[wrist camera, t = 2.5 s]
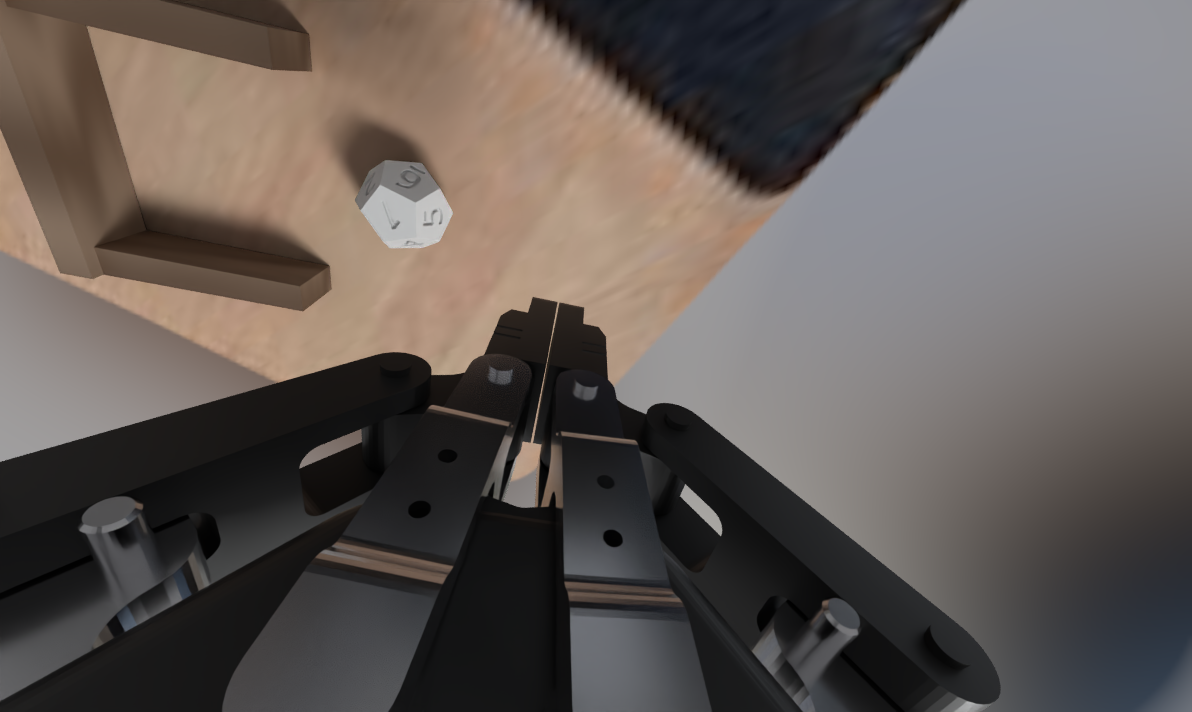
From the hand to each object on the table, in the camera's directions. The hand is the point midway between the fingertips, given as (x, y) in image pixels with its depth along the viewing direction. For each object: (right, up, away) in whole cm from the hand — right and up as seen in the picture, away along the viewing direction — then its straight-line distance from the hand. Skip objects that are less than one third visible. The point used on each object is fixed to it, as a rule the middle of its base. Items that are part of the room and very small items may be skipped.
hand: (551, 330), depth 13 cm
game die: (-7, +6, +7) cm, 11 cm away
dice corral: (-14, +8, +6) cm, 17 cm away
